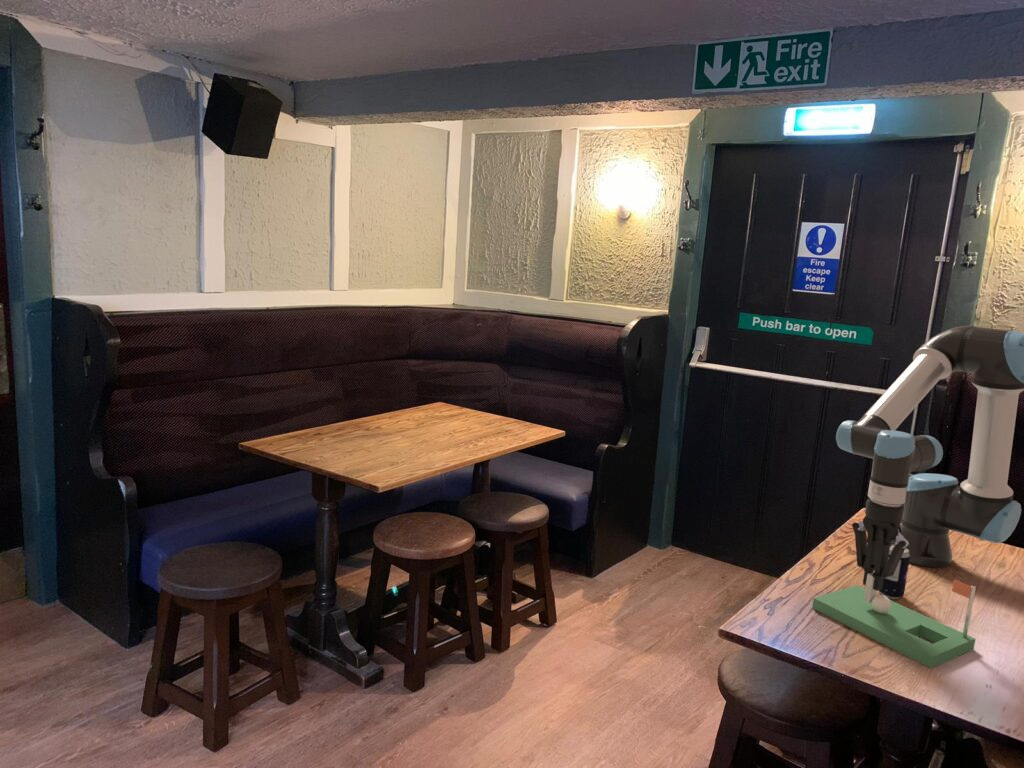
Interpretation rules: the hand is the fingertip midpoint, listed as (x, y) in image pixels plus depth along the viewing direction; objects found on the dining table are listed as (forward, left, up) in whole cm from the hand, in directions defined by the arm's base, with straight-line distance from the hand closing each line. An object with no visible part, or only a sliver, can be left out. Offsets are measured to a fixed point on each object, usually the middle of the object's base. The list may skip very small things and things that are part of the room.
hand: (869, 600), depth 175 cm
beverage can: (-16, -5, -4) cm, 17 cm away
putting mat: (0, +5, -4) cm, 7 cm away
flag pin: (-7, +16, -4) cm, 18 cm away
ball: (0, +1, +2) cm, 2 cm away
